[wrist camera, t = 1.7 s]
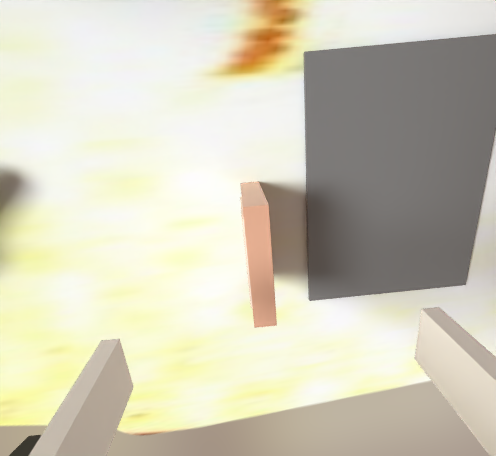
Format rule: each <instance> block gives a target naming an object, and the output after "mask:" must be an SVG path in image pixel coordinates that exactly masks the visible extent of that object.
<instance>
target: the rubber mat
mask: <svg viewBox="0 0 496 456" xmlns="http://www.w3.org/2000/svg"><path fill="white" fill-rule="evenodd" d="M304 91H305V140H306V189H307V239H308V288H309V300H310V301H312V300H322V299H332V298H342V297H352V296H361V295H371V294H381V293H391V292H401V291H410V290H420V289H430V288H440V287H450V286H460V285H466V280H467V275H468V270H469V264H470V259H471V254H472V249H473V244H474V238H475V233H476V228H477V223H478V218H479V213H480V207H481V202H482V197H483V192H484V187H485V182H486V176H487V171H488V166H489V161H490V156H491V151H492V145H493V140H494V135H495V130H496V34H492V35H481V36H471V37H460V38H449V39H438V40H427V41H417V42H406V43H395V44H384V45H373V46H363V47H352V48H341V49H330V50H319V51H308V52H304Z"/></svg>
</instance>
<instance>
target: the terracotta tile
mask: <svg viewBox="0 0 496 456" xmlns="http://www.w3.org/2000/svg"><path fill="white" fill-rule="evenodd" d="M241 194H242V197H240V199H241V214H242V225H243V235H244V245H245V254H246V264H247V274H248V284H249V294H250V304H251V308H253V316H254V326H255V327H265V326H275V325H277V322H276V307H275V292H274V277H273V262H272V248H271V233H270V218H269V204H268V202H267V200H266V197H265V195H264V193H263V190H262V188H261V186H260V183H259V181H258V182H248V183H241Z"/></svg>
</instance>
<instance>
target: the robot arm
mask: <svg viewBox="0 0 496 456" xmlns="http://www.w3.org/2000/svg"><path fill="white" fill-rule="evenodd" d="M415 360H416V361H417V363H418V364H419V365H420V366H421V368H422V369H423V370H424V372H425V373H426V374H427V375H428V377H429V378H430V379H431V381H432V382H433V383H434V384H435V386H436V387H437V388H438V390H439V391H440V392H441V393H442V395H443V396H444V397H445V399H446V400H447V401H448V402H449V404H450V405H451V406H452V408H453V409H454V410H455V411H456V413H457V414H458V415H459V417H460V418H461V419H462V420H463V422H464V423H465V424H466V425H467V427H468V428H469V429H470V431H471V432H472V433H473V434H474V436H475V437H476V438H477V440H478V441H479V442H480V443H481V445H482V446H483V447H484V449H485V450H486V451H487V452H488V454H489V455H490V456H496V357H495V356H494V355H493V354H492V353H491V352H489V351H488V350H487V349H486V348H485V347H484V346H483V345H481V344H480V343H479V342H478V341H477V340H476V339H475V338H473V337H472V336H471V335H470V334H469V333H468V332H467V331H465V330H464V329H463V328H462V327H461V326H460V325H459V324H457V323H456V322H455V321H454V320H453V319H452V318H451V317H449V316H448V315H447V314H446V313H445V312H444V311H443V310H441V309H440V308H439V307H437V308H427V309H421V316H420V324H419V331H418V338H417V345H416V352H415ZM132 390H133V384H132V380H131V377H130V373H129V370H128V366H127V363H126V360H125V356H124V353H123V349H122V346H121V343H120V339H112V340H102V341H101V342H100V344H99V345H98V347H97V349H96V350H95V352H94V353H93V355H92V356H91V358H90V360H89V361H88V363H87V364H86V366H85V367H84V369H83V371H82V372H81V374H80V375H79V377H78V379H77V380H76V382H75V383H74V385H73V386H72V388H71V390H70V391H69V393H68V394H67V396H66V397H65V399H64V401H63V402H62V404H61V405H60V407H59V409H58V410H57V412H56V413H55V415H54V416H53V418H52V420H51V421H50V423H49V424H48V426H47V427H46V429H45V431H44V432H43V434H42V435H35V436H29V437H27V438H26V439H25V440H24V441H23V442H22V443H21V445H19V446H18V447H17V448H16V449H15V450H14V451H13V452H12V453H11V454H10V456H106V455H107V453H108V450H109V448H110V445H111V443H112V440H113V438H114V435H115V433H116V430H117V428H118V425H119V423H120V420H121V418H122V415H123V412H124V410H125V407H126V405H127V402H128V400H129V397H130V395H131V392H132Z"/></svg>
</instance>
